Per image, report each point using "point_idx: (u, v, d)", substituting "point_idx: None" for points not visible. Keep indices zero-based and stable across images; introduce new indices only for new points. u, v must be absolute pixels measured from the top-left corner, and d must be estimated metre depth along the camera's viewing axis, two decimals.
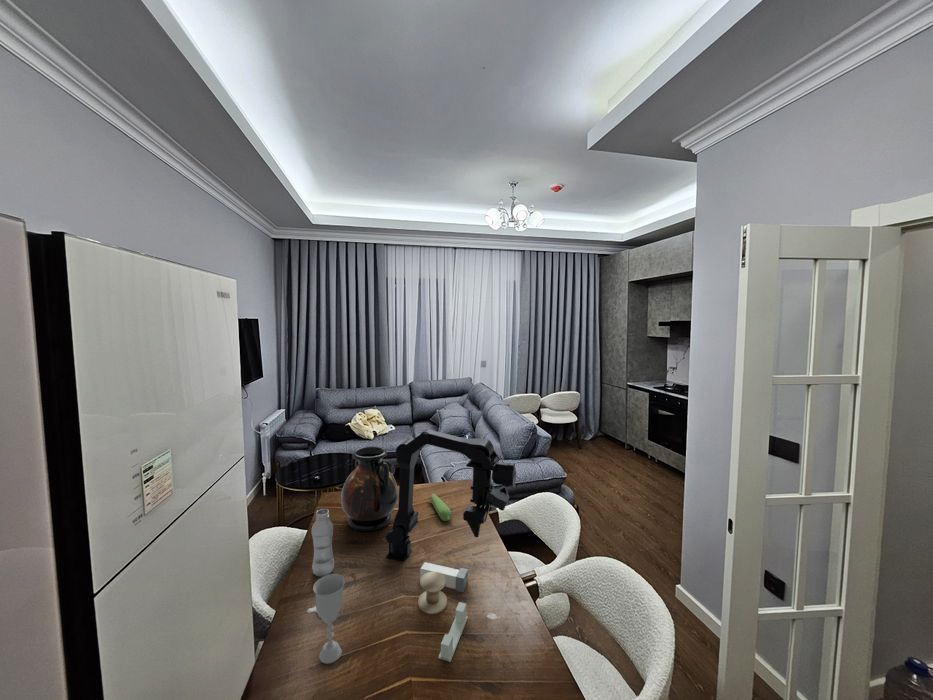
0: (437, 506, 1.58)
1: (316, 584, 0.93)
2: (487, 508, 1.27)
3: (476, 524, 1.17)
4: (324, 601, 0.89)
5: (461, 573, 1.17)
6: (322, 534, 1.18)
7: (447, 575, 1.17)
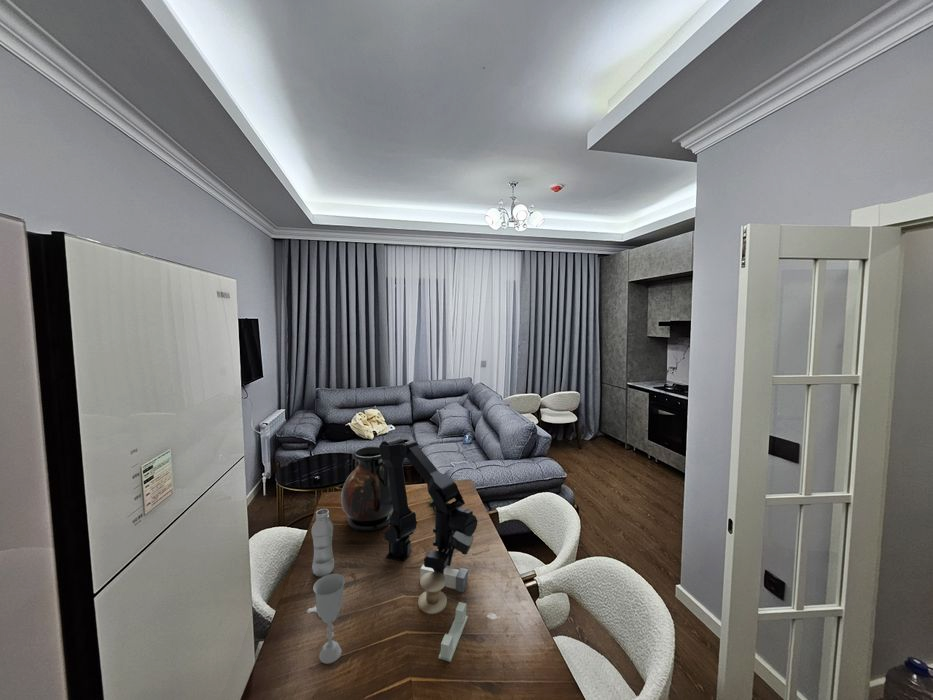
0: None
1: (316, 584, 0.93)
2: (451, 552, 1.22)
3: None
4: (324, 601, 0.90)
5: (461, 573, 1.17)
6: (322, 534, 1.18)
7: (447, 575, 1.17)
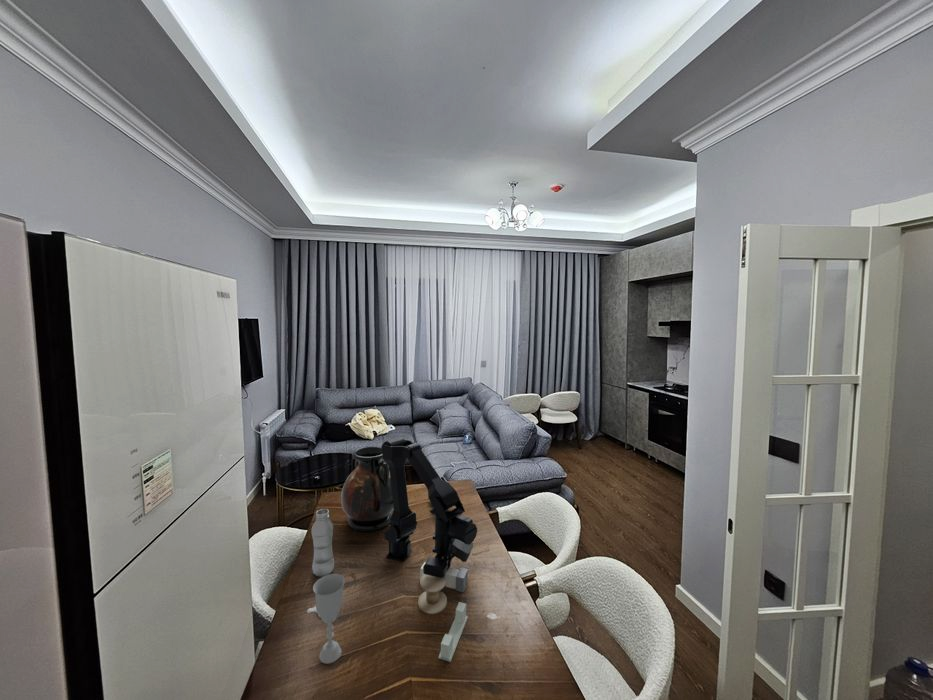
0: None
1: (316, 584, 0.93)
2: (449, 561, 1.21)
3: None
4: (324, 601, 0.89)
5: (461, 573, 1.17)
6: (322, 534, 1.18)
7: (447, 575, 1.17)
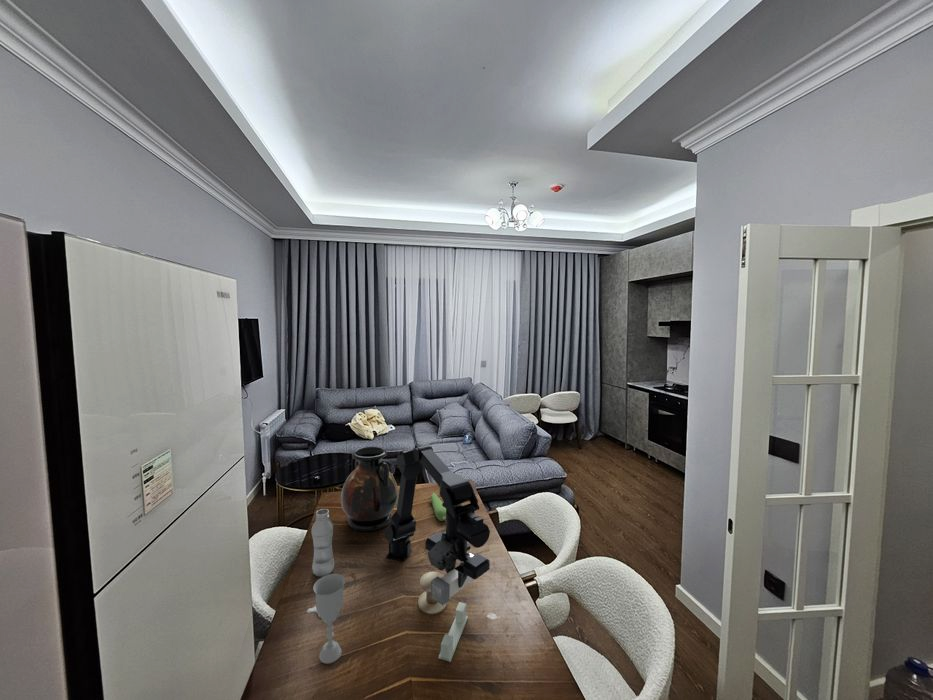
0: (435, 505, 1.58)
1: (316, 584, 0.93)
2: None
3: None
4: (324, 601, 0.90)
5: (439, 581, 1.00)
6: (322, 534, 1.18)
7: None
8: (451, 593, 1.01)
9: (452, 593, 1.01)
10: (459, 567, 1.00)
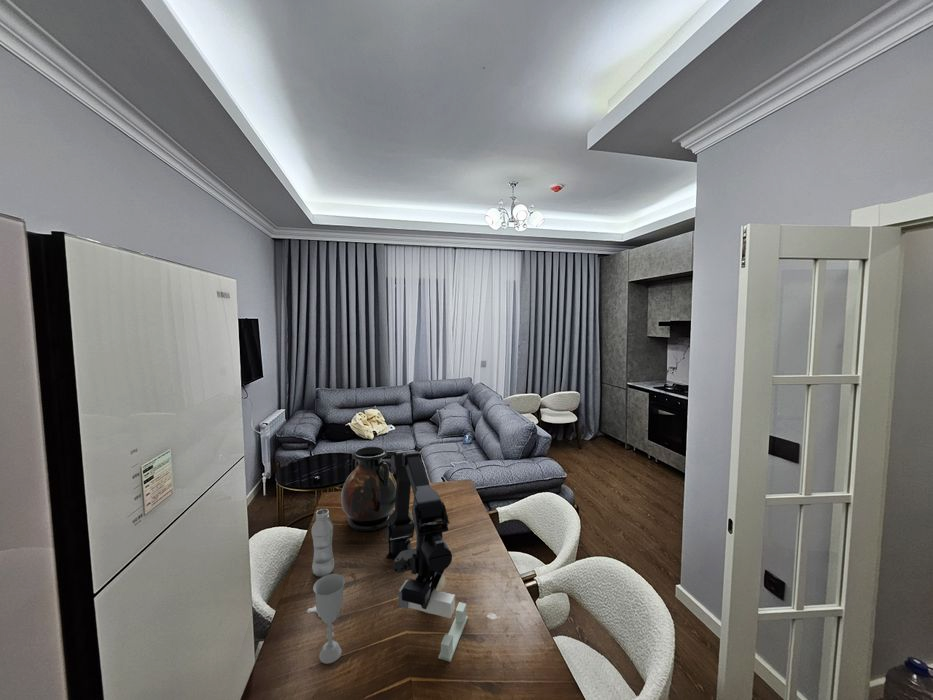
0: None
1: (316, 584, 0.93)
2: None
3: None
4: (324, 602, 0.89)
5: None
6: (322, 534, 1.18)
7: None
8: (412, 605, 1.01)
9: (414, 606, 1.01)
10: None
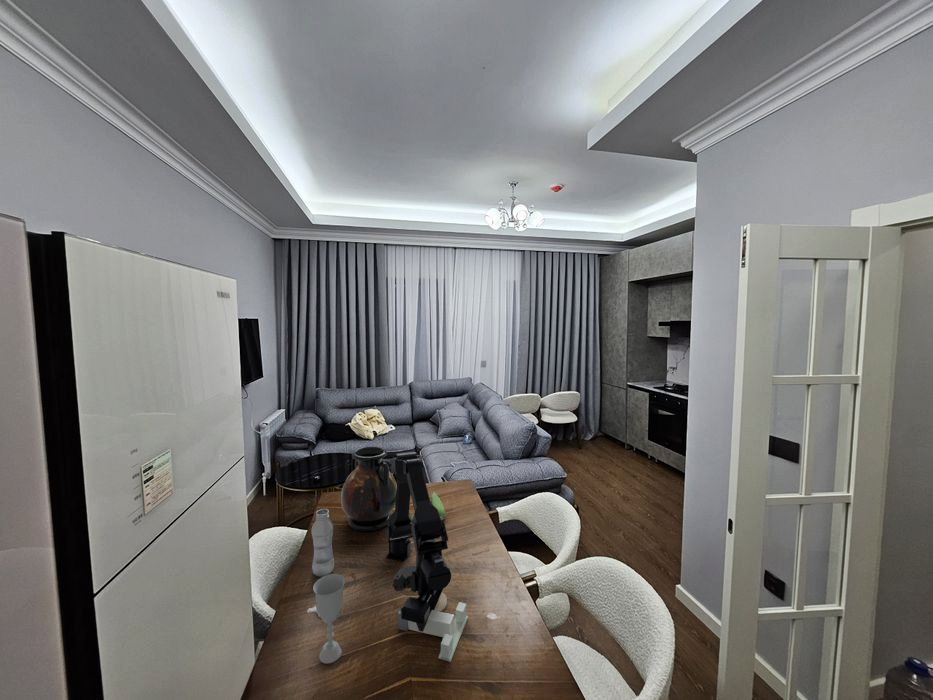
0: (433, 505, 1.59)
1: (316, 584, 0.93)
2: None
3: None
4: (324, 601, 0.90)
5: None
6: (322, 534, 1.18)
7: None
8: (412, 627, 1.01)
9: (414, 628, 1.01)
10: None
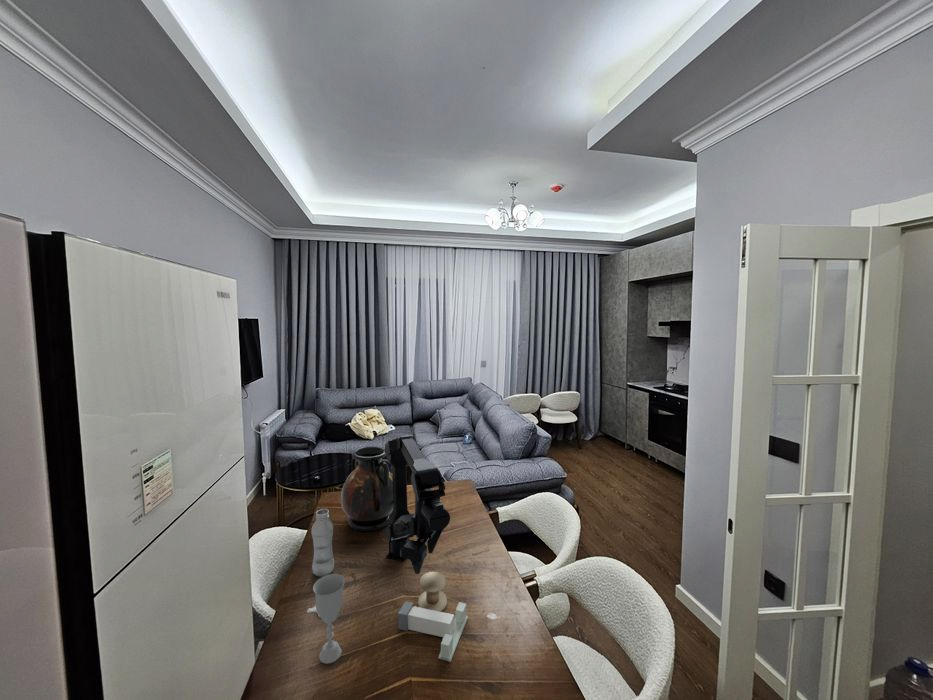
0: None
1: (316, 584, 0.93)
2: None
3: None
4: (324, 601, 0.89)
5: (406, 607, 1.03)
6: (322, 534, 1.18)
7: None
8: (412, 627, 1.01)
9: (414, 628, 1.01)
10: None
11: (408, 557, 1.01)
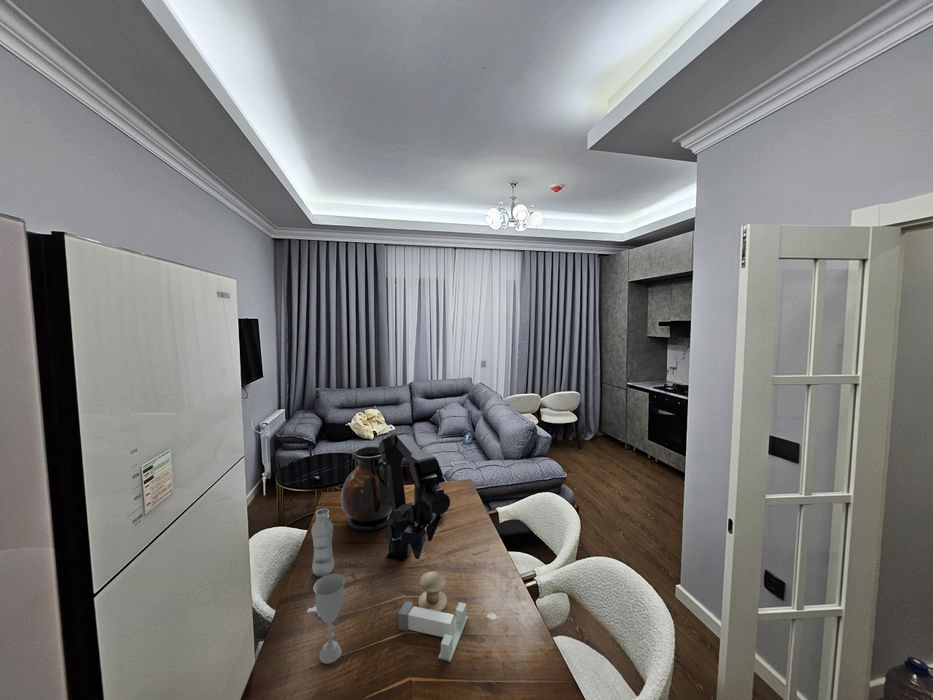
0: None
1: (316, 584, 0.93)
2: None
3: None
4: (324, 601, 0.90)
5: (406, 607, 1.03)
6: (322, 534, 1.18)
7: None
8: (412, 627, 1.01)
9: (414, 628, 1.01)
10: None
11: (408, 541, 1.06)
